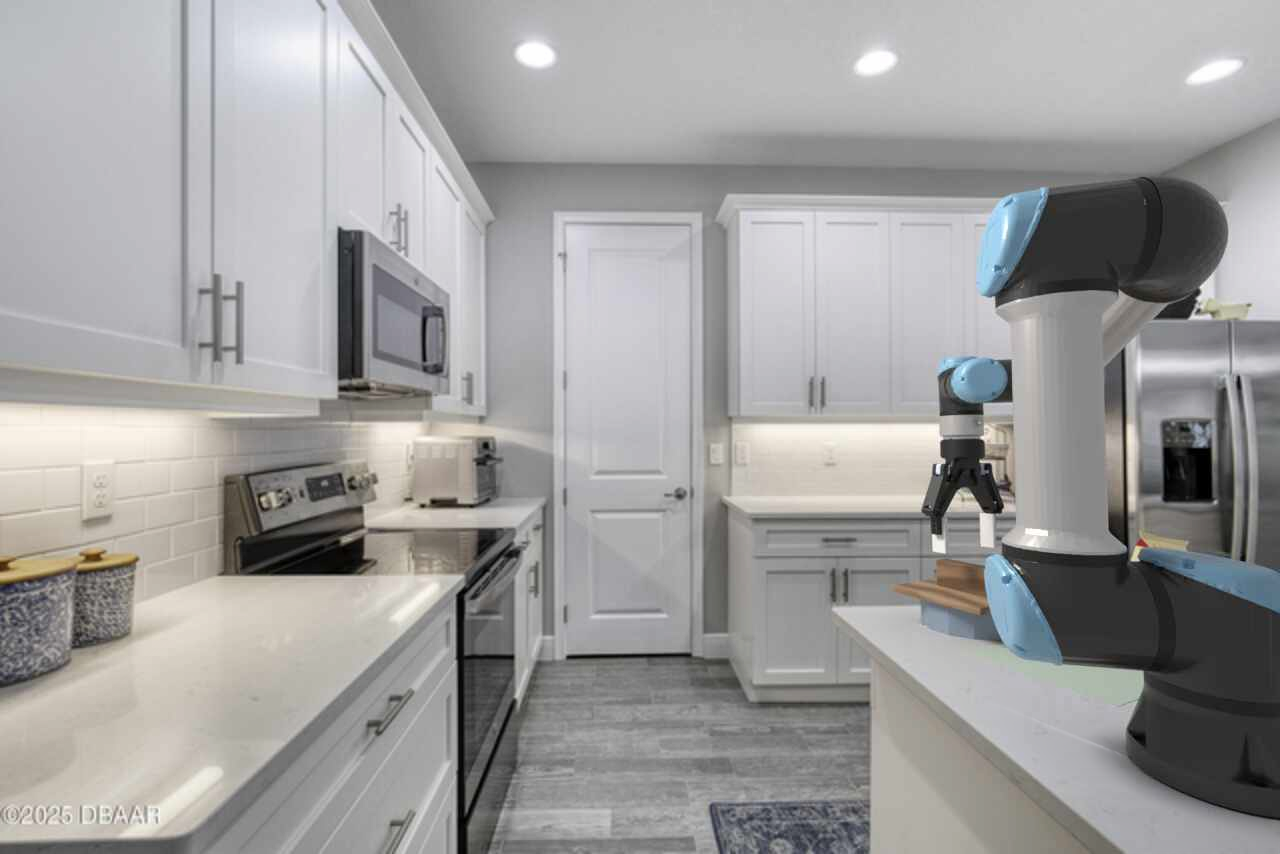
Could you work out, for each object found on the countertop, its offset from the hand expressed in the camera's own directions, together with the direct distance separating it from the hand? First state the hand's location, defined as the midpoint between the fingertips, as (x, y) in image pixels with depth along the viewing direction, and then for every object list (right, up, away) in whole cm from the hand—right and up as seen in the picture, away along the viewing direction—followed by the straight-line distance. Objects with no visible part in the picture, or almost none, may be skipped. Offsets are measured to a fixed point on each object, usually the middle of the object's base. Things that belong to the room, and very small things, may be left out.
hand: (965, 549), depth 111 cm
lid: (0, -9, 0) cm, 9 cm away
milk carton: (+27, -15, -12) cm, 33 cm away
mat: (+7, -14, -19) cm, 25 cm away
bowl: (0, -15, 0) cm, 15 cm away
